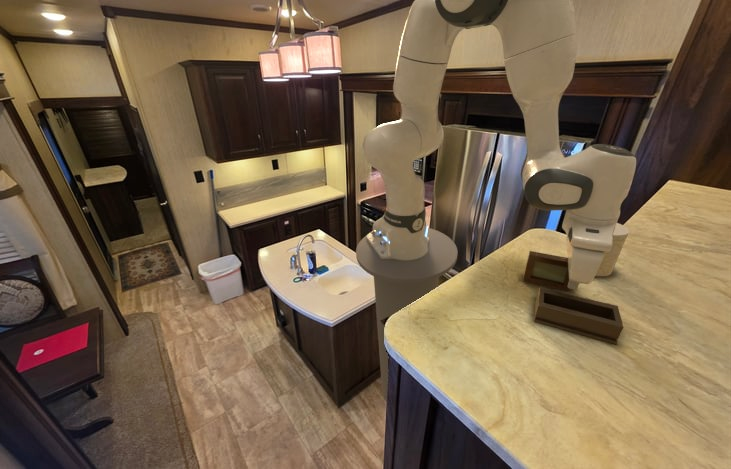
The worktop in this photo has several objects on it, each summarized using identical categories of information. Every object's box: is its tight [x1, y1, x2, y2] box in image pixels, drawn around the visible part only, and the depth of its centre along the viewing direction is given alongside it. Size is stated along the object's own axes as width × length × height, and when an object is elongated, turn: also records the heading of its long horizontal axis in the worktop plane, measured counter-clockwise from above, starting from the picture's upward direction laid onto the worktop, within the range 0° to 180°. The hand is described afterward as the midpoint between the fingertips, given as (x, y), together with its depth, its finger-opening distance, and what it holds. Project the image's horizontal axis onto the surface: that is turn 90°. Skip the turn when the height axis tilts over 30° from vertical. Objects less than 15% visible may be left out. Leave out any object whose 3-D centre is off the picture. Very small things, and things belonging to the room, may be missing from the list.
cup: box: [595, 222, 630, 277], centre depth 74 cm, size 8×8×12 cm
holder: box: [533, 287, 624, 345], centre depth 60 cm, size 8×14×4 cm, turn 61°
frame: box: [522, 250, 571, 292], centre depth 70 cm, size 2×10×8 cm, turn 60°
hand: (570, 275), depth 68 cm, fingers open, 8 cm apart
